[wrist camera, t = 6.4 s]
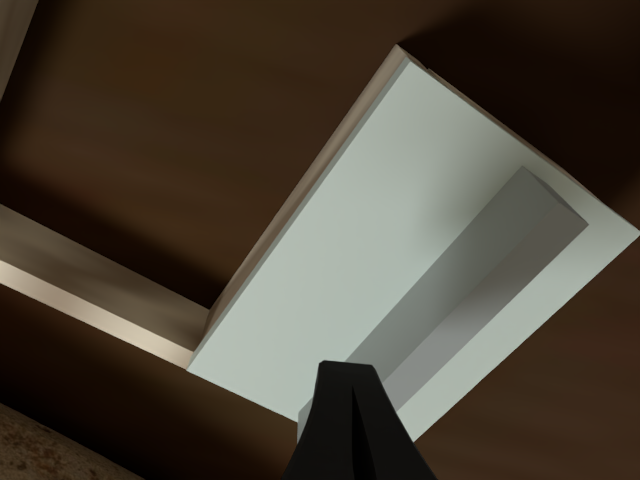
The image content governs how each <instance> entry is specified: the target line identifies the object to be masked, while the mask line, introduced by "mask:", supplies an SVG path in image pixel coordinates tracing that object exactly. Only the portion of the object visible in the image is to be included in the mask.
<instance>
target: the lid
mask: <svg viewBox="0 0 640 480" xmlns="http://www.w3.org/2000/svg"><path fill="white" fill-rule="evenodd" d="M639 235H640V231H639V230H637V229H636V228H635V227H634V226H633V225H632V224H630V223H629V222H628V221H627V220H625V219H624V218H623V217H621V216H620V215H618V214H617V213H616V212H614V211H613V210H612V209H610V208H609V207H608V206H606V205H605V204H604V203H602V202H601V201H600V200H598V199H597V198H596V197H594V196H593V195H592V194H590V193H589V192H588V191H586V190H585V189H584V188H582V187H581V186H580V185H578V184H577V183H575V182H574V181H573V180H571V179H570V178H569V177H567V176H566V175H565V174H563V173H562V172H561V171H559V170H558V169H557V168H555V167H554V166H553V165H551V164H550V163H549V162H547V161H546V160H545V159H543V158H542V157H541V156H539V155H538V154H537V153H535V152H534V151H532V150H531V149H530V148H528V147H527V146H526V145H524V144H523V143H522V142H520V141H519V140H518V139H516V138H515V137H514V136H512V135H511V134H510V133H508V132H507V131H506V130H504V129H503V128H502V127H500V126H499V125H498V124H496V123H495V122H494V121H492V120H491V119H489V118H488V117H487V116H485V115H484V114H483V113H481V112H480V111H479V110H477V109H476V108H475V107H473V106H472V105H471V104H469V103H468V102H467V101H465V100H464V99H463V98H461V97H460V96H459V95H457V94H456V93H455V92H453V91H452V90H451V89H449V88H448V87H446V86H445V85H444V84H442V83H441V82H440V81H438V80H437V79H436V78H434V77H433V76H432V75H430V74H429V73H428V72H426V71H425V70H424V69H422V68H421V67H420V66H418V65H417V64H416V63H414V62H413V61H412V60H410V59H409V58H408V57H405V59H404V60H403V61H402V63H401V64H400V66H399V67H398V68H397V70H396V71H395V73H394V74H393V75H392V77H391V78H390V80H389V81H388V82H387V84H386V85H385V87H384V88H383V89H382V91H381V92H380V93H379V95H378V96H377V98H376V99H375V100H374V102H373V103H372V105H371V106H370V107H369V109H368V110H367V112H366V113H365V114H364V116H363V117H362V119H361V120H360V121H359V123H358V124H357V126H356V127H355V128H354V130H353V131H352V133H351V134H350V135H349V137H348V138H347V139H346V141H345V142H344V144H343V145H342V146H341V148H340V149H339V151H338V152H337V153H336V155H335V156H334V158H333V159H332V160H331V162H330V163H329V165H328V166H327V167H326V169H325V170H324V172H323V173H322V174H321V176H320V177H319V179H318V180H317V181H316V183H315V184H314V185H313V187H312V188H311V190H310V191H309V192H308V194H307V195H306V197H305V198H304V199H303V201H302V202H301V204H300V205H299V206H298V208H297V209H296V211H295V212H294V213H293V215H292V216H291V218H290V219H289V220H288V222H287V223H286V225H285V226H284V227H283V229H282V230H281V231H280V233H279V234H278V236H277V237H276V238H275V240H274V241H273V243H272V244H271V245H270V247H269V248H268V250H267V251H266V252H265V254H264V255H263V257H262V258H261V259H260V261H259V262H258V264H257V265H256V266H255V268H254V269H253V271H252V272H251V273H250V275H249V276H248V277H247V279H246V280H245V282H244V283H243V284H242V286H241V287H240V289H239V290H238V291H237V293H236V294H235V296H234V297H233V298H232V300H231V301H230V303H229V304H228V305H227V307H226V308H225V310H224V311H223V312H222V314H221V315H220V317H219V318H218V319H217V321H216V322H215V323H214V325H213V326H212V328H211V329H210V330H209V332H208V333H207V335H206V336H205V337H204V339H203V340H202V342H201V343H200V344H199V346H198V347H197V349H196V350H195V351H194V353H193V354H192V356H191V357H190V360H189V364H188V367H187V370H186V371H189V372H191V373H193V374H195V375H197V376H199V377H201V378H204V379H206V380H208V381H210V382H212V383H214V384H217V385H219V386H221V387H223V388H225V389H227V390H229V391H232V392H234V393H236V394H238V395H240V396H242V397H245V398H247V399H249V400H251V401H253V402H255V403H257V404H260V405H262V406H264V407H266V408H268V409H270V410H272V411H275V412H277V413H279V414H281V415H283V416H285V417H288V418H290V419H292V420H294V421H296V422H298V436H297V444H298V441H299V439H300V437H301V434H302V432H303V429H304V427H305V424H306V422H307V418H308V415H309V412H310V409H311V406H312V400H313V394H314V388H315V383H316V377H317V371H318V365H319V363H320V362H322V361H323V360H329V361H339V362H349V363H360V364H370V365H373V367H374V368H375V369H376V371H377V374H378V376H379V378H380V381H381V383H382V385H383V387H384V389H385V391H386V393H387V395H388V397H389V399H390V401H391V403H392V405H393V407H394V409H395V411H396V413H397V415H398V417H399V418H400V420H401V422H402V424H403V425H404V427H405V429H406V431H407V432H408V434H409V436H410V438H411V439H412V441H413V442H414V441H415V440H416V439H417V438H418V437H420V436H421V435H422V434H423V433H424V432H425V431H426V430H427V429H428V428H429V427H430V426H432V425H433V424H434V423H435V422H436V421H437V420H438V419H439V418H440V417H441V416H442V415H444V414H445V413H446V412H447V411H448V410H449V409H450V408H451V407H452V406H453V405H455V404H456V403H457V402H458V401H459V400H460V399H461V398H462V397H463V396H464V395H465V394H467V393H468V392H469V391H470V390H471V389H472V388H473V387H474V386H475V385H476V384H477V383H479V382H480V381H481V380H482V379H483V378H484V377H485V376H486V375H487V374H488V373H489V372H491V371H492V370H493V369H494V368H495V367H496V366H497V365H498V364H499V363H500V362H502V361H503V360H504V359H505V358H506V357H507V356H508V355H509V354H510V353H511V352H512V351H514V350H515V349H516V348H517V347H518V346H519V345H520V344H521V343H522V342H523V341H524V340H526V339H527V338H528V337H529V336H530V335H531V334H532V333H533V332H534V331H535V330H537V329H538V328H539V327H540V326H541V325H542V324H543V323H544V322H545V321H546V320H547V319H549V318H550V317H551V316H552V315H553V314H554V313H555V312H556V311H557V310H558V309H559V308H561V307H562V306H563V305H564V304H565V303H566V302H567V301H568V300H569V299H570V298H571V297H573V296H574V295H575V294H576V293H577V292H578V291H579V290H580V289H581V288H582V287H584V286H585V285H586V284H587V283H588V282H589V281H590V280H591V279H592V278H593V277H594V276H596V275H597V274H598V273H599V272H600V271H601V270H602V269H603V268H604V267H605V266H606V265H608V264H609V263H610V262H611V261H612V260H613V259H614V258H615V257H616V256H617V255H619V254H620V253H621V252H622V251H623V250H624V249H625V248H626V247H627V246H628V245H629V244H631V243H632V242H633V241H634V240H635V239H636V238H637V237H638V236H639Z"/></svg>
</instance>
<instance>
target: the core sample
mask: <svg viewBox="0 0 640 480" xmlns="http://www.w3.org/2000/svg"><path fill="white" fill-rule="evenodd" d="M0 480H146V479H144V478H142V477H140V476H138V475H136V474H134V473H132V472H131V471H129V470H127V469H125V468H123V467H121V466H119V465H117V464H115V463H114V462H112V461H110V460H108V459H107V458H105V457H104V456H102V455H100V454H98V453H96V452H94V451H92V450H90V449H88V448H86V447H84V446H82V445H80V444H79V443H77V442H75V441H73V440H71V439H69V438H67V437H65V436H64V435H62V434H60V433H58V432H56V431H54V430H52V429H50V428H48V427H46V426H44V425H42V424H40V423H38V422H36V421H35V420H33V419H31V418H29V417H27V416H25V415H23V414H22V413H20V412H18V411H16V410H13V409H11V408H9V407H7V406H5V405H3V404H2V403H0Z"/></svg>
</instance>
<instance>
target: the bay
mask: <svg viewBox="0 0 640 480" xmlns="http://www.w3.org/2000/svg"><path fill="white" fill-rule="evenodd" d="M38 1H39V0H0V101H1V99H2V96H3V93H4V91H5V88H6V85H7V83H8V80H9V78H10V75H11V72H12V70H13V67H14V64H15V62H16V59H17V56H18V54H19V51H20V48H21V46H22V43H23V40H24V38H25V35H26V32H27V30H28V27H29V24H30V22H31V19H32V16H33V14H34V11H35V9H36V6H37V3H38ZM405 57H408V58H409V59H410V60H412V61H413V62H414V63H416V64H417V65H418V66H420V67H421V68H422V69H424V70H425V71H426V72H428V73H429V74H430V75H432V76H433V77H434V78H436V79H437V80H438V81H440V82H441V83H442V84H444V85H445V86H446V87H448V88H449V89H451V90H452V91H453V92H455V93H456V94H457V95H459V96H460V97H461V98H463V99H464V100H465V101H467V102H468V103H469V104H471V105H472V106H473V107H475V108H476V109H477V110H479V111H480V112H481V113H483V114H484V115H485V116H487V117H488V118H489V119H491V120H492V121H494V122H495V123H496V124H498V125H499V126H500V127H502V128H503V129H504V130H506V131H507V132H508V133H510V134H511V135H512V136H514V137H515V138H516V139H518V140H519V141H520V142H522V143H523V144H524V145H526V146H527V147H528V148H530V149H531V150H532V151H534V152H535V153H537V154H538V155H539V156H541V157H542V158H543V159H545V160H546V161H547V162H549V163H550V164H551V165H553V166H554V167H555V168H557V169H558V170H559V171H561V172H562V173H563V174H565V175H566V176H567V177H569V178H570V179H571V180H573V181H574V182H575V183H577V184H578V185H580V186H581V187H582V188H584V189H585V190H586V191H588V192H589V193H590V194H592V193H591V192H590V191H589V190H587V189H586V188H585V187H584V186H583V185H582V184H580V183H579V182H578V181H577V180H576V179H575V178H573V177H572V176H571V175H570V174H569V173H568V172H566V171H565V170H564V169H563V168H562V167H560V166H559V165H558V164H556V163H555V162H554V161H552V160H551V159H549V158H548V157H547V156H545V155H544V154H543V153H541V152H540V151H539V150H537V149H536V148H535V147H533V146H532V145H531V144H529V143H528V142H527V141H525V140H524V139H523V138H521V137H520V136H519V135H517V134H516V133H515V132H513V131H512V130H511V129H509V128H508V127H507V126H505V125H504V124H503V123H501V122H500V121H499V120H497V119H496V118H495V117H493V116H492V115H491V114H489V113H488V112H487V111H485V110H484V109H483V108H481V107H480V106H479V105H477V104H476V103H475V102H473V101H472V100H471V99H469V98H468V97H467V96H465V95H464V94H463V93H461V92H460V91H459V90H457V89H456V88H455V87H453V86H452V85H451V84H449V83H448V82H447V81H445V80H444V79H442V78H441V77H440V76H438V75H437V74H436V73H434V72H433V71H432V70H430V69H429V68H428V70H427V69H426V68H425V67H424V66H423V65H422V64H421V63H420V62H419V61H418V60H417V59H416V58H414V57H413V56H412V55H410V54H409V53H408V52H406V51H405V50H404V49H402V48H401V47H400V46H398V45H397V44H396V45H395V46H394V47H393V49H392V50H391V52H390V53H389V55H388V56H387V57H386V59H385V60H384V62H383V63H382V65H381V66H380V67H379V69H378V70H377V72H376V73H375V75H374V76H373V77H372V79H371V80H370V82H369V83H368V85H367V86H366V87H365V89H364V90H363V92H362V93H361V95H360V96H359V97H358V99H357V100H356V102H355V103H354V105H353V106H352V107H351V109H350V110H349V112H348V113H347V115H346V116H345V117H344V119H343V120H342V122H341V123H340V125H339V126H338V127H337V129H336V130H335V132H334V133H333V135H332V136H331V137H330V139H329V140H328V142H327V143H326V145H325V146H324V147H323V149H322V150H321V152H320V153H319V154H318V156H317V157H316V159H315V160H314V162H313V163H312V164H311V166H310V167H309V169H308V170H307V172H306V173H305V174H304V176H303V177H302V179H301V180H300V182H299V183H298V184H297V186H296V187H295V189H294V190H293V192H292V193H291V194H290V196H289V197H288V199H287V200H286V202H285V203H284V204H283V206H282V207H281V209H280V210H279V212H278V213H277V214H276V216H275V217H274V219H273V220H272V222H271V223H270V224H269V226H268V227H267V229H266V230H265V232H264V233H263V234H262V236H261V237H260V239H259V240H258V242H257V243H256V244H255V246H254V247H253V249H252V250H251V252H250V253H249V254H248V256H247V257H246V259H245V260H244V262H243V263H242V264H241V266H240V267H239V269H238V270H237V271H236V273H235V274H234V276H233V277H232V279H231V280H230V281H229V283H228V284H227V286H226V287H225V289H224V290H223V291H222V293H221V294H220V296H219V297H218V299H217V300H216V301H215V303H214V304H213V306H212V307H211V309H210V310H208V309H206V308H205V307H203V306H201V305H199V304H197V303H195V302H193V301H191V300H189V299H187V298H185V297H183V296H181V295H179V294H177V293H175V292H173V291H171V290H169V289H167V288H165V287H163V286H161V285H159V284H157V283H155V282H153V281H151V280H149V279H147V278H145V277H143V276H141V275H139V274H137V273H136V272H134V271H132V270H130V269H128V268H126V267H124V266H122V265H120V264H118V263H116V262H114V261H112V260H110V259H108V258H106V257H104V256H102V255H100V254H98V253H96V252H94V251H92V250H90V249H88V248H86V247H84V246H82V245H80V244H78V243H76V242H74V241H72V240H70V239H68V238H66V237H65V236H63V235H61V234H59V233H57V232H55V231H53V230H51V229H49V228H47V227H45V226H43V225H41V224H39V223H37V222H35V221H33V220H31V219H29V218H27V217H25V216H23V215H21V214H19V213H17V212H15V211H13V210H11V209H9V208H7V207H5V206H3V205H1V204H0V283H2V284H4V285H6V286H8V287H10V288H12V289H15V290H17V291H19V292H21V293H23V294H25V295H27V296H30V297H32V298H34V299H36V300H38V301H40V302H42V303H45V304H47V305H49V306H51V307H53V308H55V309H57V310H60V311H62V312H64V313H66V314H68V315H70V316H73V317H75V318H77V319H79V320H81V321H83V322H85V323H88V324H90V325H92V326H94V327H96V328H98V329H100V330H103V331H105V332H107V333H109V334H111V335H113V336H115V337H118V338H120V339H122V340H124V341H126V342H128V343H131V344H133V345H135V346H137V347H139V348H141V349H143V350H146V351H148V352H150V353H152V354H154V355H156V356H158V357H161V358H163V359H165V360H167V361H169V362H171V363H173V364H176V365H178V366H180V367H182V368H184V369H186V370H187V367H188V364H189V360H190V357H191V356H192V354H193V353H194V351H195V350H196V349H197V347H198V346H199V344H200V343H201V342H202V340H203V339H204V337H205V336H206V335H207V333H208V332H209V330H210V329H211V328H212V326H213V325H214V323H215V322H216V321H217V319H218V318H219V317H220V315H221V314H222V312H223V311H224V310H225V308H226V307H227V305H228V304H229V303H230V301H231V300H232V298H233V297H234V296H235V294H236V293H237V291H238V290H239V289H240V287H241V286H242V284H243V283H244V282H245V280H246V279H247V277H248V276H249V275H250V273H251V272H252V271H253V269H254V268H255V266H256V265H257V264H258V262H259V261H260V259H261V258H262V257H263V255H264V254H265V252H266V251H267V250H268V248H269V247H270V245H271V244H272V243H273V241H274V240H275V238H276V237H277V236H278V234H279V233H280V231H281V230H282V229H283V227H284V226H285V225H286V223H287V222H288V220H289V219H290V218H291V216H292V215H293V213H294V212H295V211H296V209H297V208H298V206H299V205H300V204H301V202H302V201H303V199H304V198H305V197H306V195H307V194H308V192H309V191H310V190H311V188H312V187H313V185H314V184H315V183H316V181H317V180H318V179H319V177H320V176H321V174H322V173H323V172H324V170H325V169H326V167H327V166H328V165H329V163H330V162H331V160H332V159H333V158H334V156H335V155H336V153H337V152H338V151H339V149H340V148H341V146H342V145H343V144H344V142H345V141H346V139H347V138H348V137H349V135H350V134H351V133H352V131H353V130H354V128H355V127H356V126H357V124H358V123H359V121H360V120H361V119H362V117H363V116H364V114H365V113H366V112H367V110H368V109H369V107H370V106H371V105H372V103H373V102H374V100H375V99H376V98H377V96H378V95H379V93H380V92H381V91H382V89H383V88H384V87H385V85H386V84H387V82H388V81H389V80H390V78H391V77H392V75H393V74H394V73H395V71H396V70H397V68H398V67H399V66H400V64H401V63H402V61H403V60H404V59H405ZM592 195H593V194H592ZM593 196H594V195H593ZM594 197H596V196H594ZM596 198H597V197H596ZM597 199H598V198H597ZM598 200H599V199H598Z"/></svg>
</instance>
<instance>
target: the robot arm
mask: <svg viewBox="0 0 640 480" xmlns="http://www.w3.org/2000/svg"><path fill="white" fill-rule="evenodd" d="M281 480H438V479H437V478H436V476H435V475H434V473H433V472H432V471H431V469H430V468H429V466H428V465H427V463H426V461H425V460H424V458H423V457H422V455H421V454H420V452H419V451H418V449H417V447H416V446H415V444H414V443H413V441H412V439H411V438H410V436H409V434H408V432H407V431H406V429H405V427H404V425H403V424H402V422H401V420H400V418H399V417H398V415H397V413H396V411H395V409H394V407H393V405H392V403H391V401H390V399H389V397H388V395H387V393H386V391H385V389H384V387H383V385H382V383H381V381H380V378H379V376H378V374H377V371H376V369H375V368H374V367H373V365H370V364H360V363H349V362H339V361H329V360H323V361H322V362H320V363H319V365H318V371H317V377H316V383H315V388H314V394H313V400H312V406H311V409H310V412H309V415H308V418H307V422H306V424H305V427H304V429H303V432H302V434H301V437H300V439H299V441H298V444H297V446H296V449H295V451H294V453H293V455H292V458H291V460H290V462H289V464H288V466H287V468H286V470H285V472H284V474H283V476H282V478H281Z"/></svg>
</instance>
